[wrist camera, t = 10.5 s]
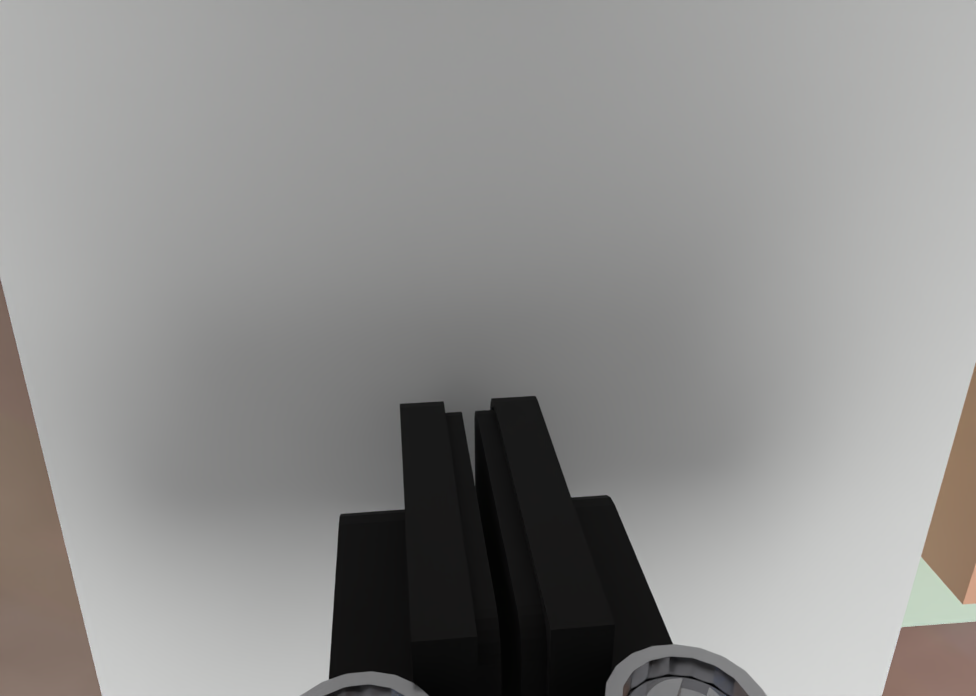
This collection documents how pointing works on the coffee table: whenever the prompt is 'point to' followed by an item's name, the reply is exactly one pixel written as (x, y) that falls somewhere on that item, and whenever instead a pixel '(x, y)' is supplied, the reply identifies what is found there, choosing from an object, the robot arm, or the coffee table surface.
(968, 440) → the tile
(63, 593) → the coffee table surface
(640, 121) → the white flat block
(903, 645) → the coffee table surface
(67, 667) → the coffee table surface
